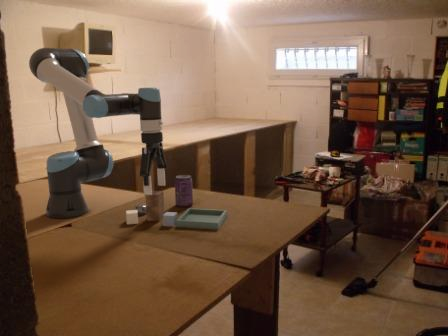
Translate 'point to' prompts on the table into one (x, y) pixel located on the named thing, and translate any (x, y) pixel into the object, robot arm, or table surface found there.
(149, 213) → the walnut block
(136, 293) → the table surface
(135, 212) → the cream cube
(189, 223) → the tray
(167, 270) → the table surface
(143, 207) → the grey metal puck
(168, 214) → the slate-blue block
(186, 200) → the beverage can
